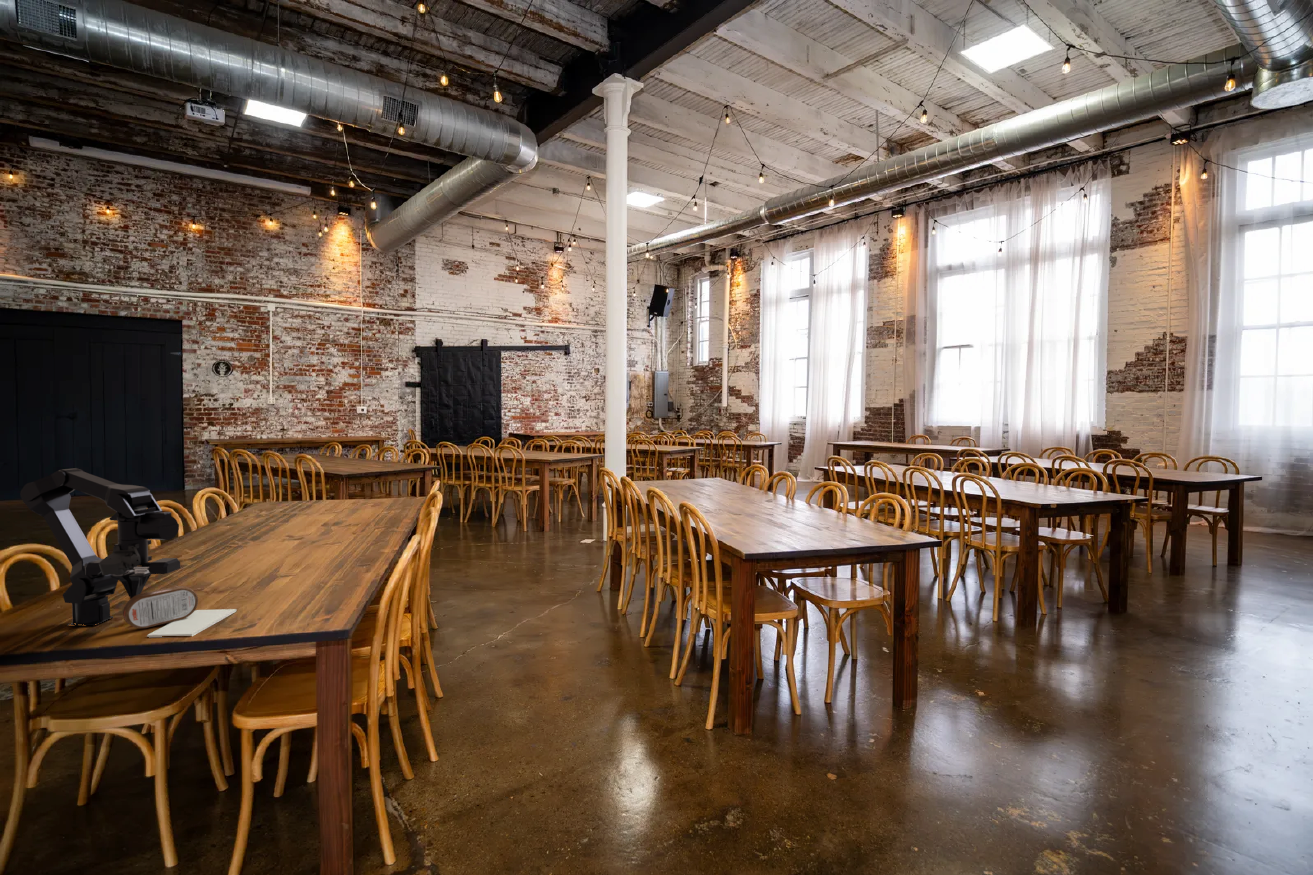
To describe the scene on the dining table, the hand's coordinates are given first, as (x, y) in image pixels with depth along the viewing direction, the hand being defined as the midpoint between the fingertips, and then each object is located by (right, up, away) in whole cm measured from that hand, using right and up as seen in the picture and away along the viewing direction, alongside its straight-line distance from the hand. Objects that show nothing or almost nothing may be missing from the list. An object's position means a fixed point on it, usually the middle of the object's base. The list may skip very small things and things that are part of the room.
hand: (134, 600), depth 161 cm
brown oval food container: (+7, -6, +1) cm, 9 cm away
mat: (+13, -6, +2) cm, 15 cm away
